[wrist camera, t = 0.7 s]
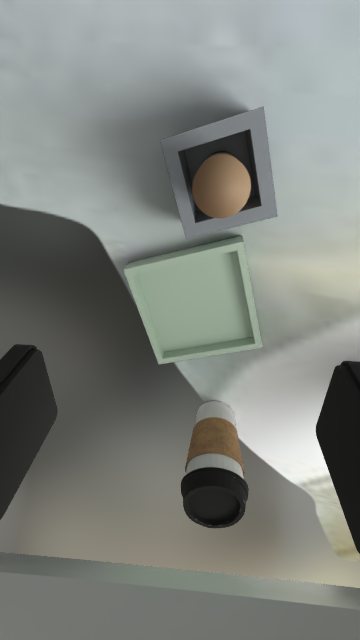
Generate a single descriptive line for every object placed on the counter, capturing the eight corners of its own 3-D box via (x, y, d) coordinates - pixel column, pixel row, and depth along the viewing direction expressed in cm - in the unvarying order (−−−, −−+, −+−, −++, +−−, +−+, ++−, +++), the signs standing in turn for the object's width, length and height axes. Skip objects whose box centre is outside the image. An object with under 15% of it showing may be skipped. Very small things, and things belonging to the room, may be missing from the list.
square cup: (254, 113, 30) (263, 106, 24) (267, 203, 34) (277, 216, 28) (171, 140, 32) (159, 140, 26) (191, 222, 36) (186, 238, 30)
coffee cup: (186, 429, 52) (176, 524, 39) (191, 391, 48) (180, 483, 35) (237, 436, 52) (243, 534, 39) (246, 398, 48) (256, 494, 35)
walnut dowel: (236, 146, 31) (245, 147, 20) (243, 188, 32) (255, 210, 22) (196, 157, 32) (185, 165, 21) (205, 198, 33) (199, 224, 23)
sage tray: (241, 235, 36) (243, 241, 34) (260, 337, 42) (262, 347, 40) (128, 262, 39) (123, 269, 37) (161, 353, 45) (158, 364, 43)
